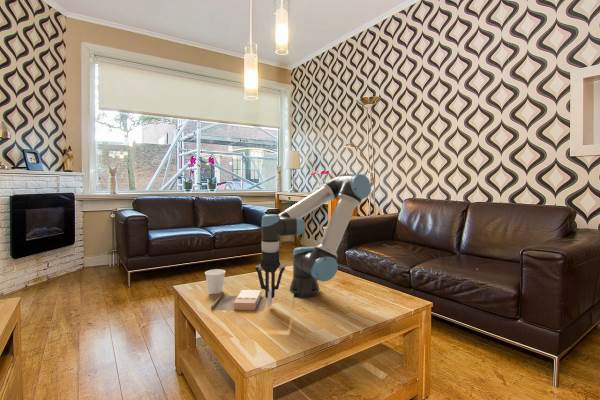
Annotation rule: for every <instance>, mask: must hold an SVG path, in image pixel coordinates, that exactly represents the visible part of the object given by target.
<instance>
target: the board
mask: <svg viewBox="0 0 600 400" xmlns="http://www.w3.org/2000/svg"><path fill="white" fill-rule="evenodd" d="M237 297H238V295H225V292H223V291H222V292H221V294H219V296H218V297H217V299H216V300H215V301H214V302H213V304H212V305H211V306H210V310H212V311H214V310H215V311H235V310H234V302H235V300H236V299H237ZM267 302H268V298H266V297H265V296H262V295H261V297H260V300H259V302H258V304H257V306H256V309H255V310H242V311H245V312H246V311H249V312H250V311H251V312H263V311H264V309H265V307H266V304H267Z"/></svg>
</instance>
